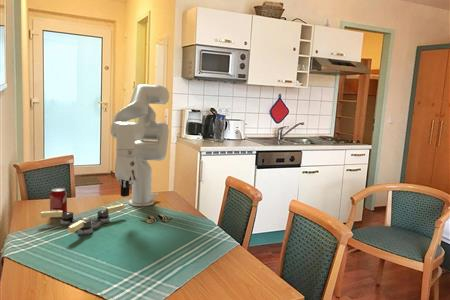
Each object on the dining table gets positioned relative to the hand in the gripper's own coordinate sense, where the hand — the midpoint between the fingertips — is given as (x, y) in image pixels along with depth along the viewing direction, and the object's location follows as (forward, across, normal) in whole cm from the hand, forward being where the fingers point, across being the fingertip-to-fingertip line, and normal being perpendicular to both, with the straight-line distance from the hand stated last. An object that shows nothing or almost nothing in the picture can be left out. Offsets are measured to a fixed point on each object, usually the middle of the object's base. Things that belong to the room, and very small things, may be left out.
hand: (124, 195), depth 161 cm
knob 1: (+10, -2, +22) cm, 24 cm away
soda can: (+12, +26, +16) cm, 32 cm away
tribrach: (+12, +7, +12) cm, 18 cm away
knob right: (+10, +16, +22) cm, 29 cm away
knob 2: (+9, +7, +2) cm, 12 cm away
